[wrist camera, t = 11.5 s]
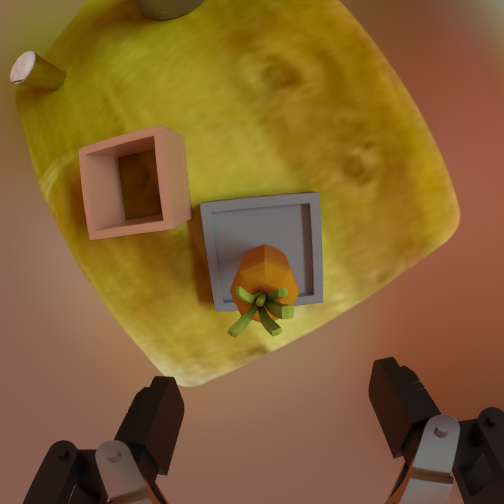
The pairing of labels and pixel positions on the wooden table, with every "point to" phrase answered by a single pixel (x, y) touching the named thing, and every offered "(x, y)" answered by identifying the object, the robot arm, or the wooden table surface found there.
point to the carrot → (263, 289)
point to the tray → (264, 240)
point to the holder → (109, 183)
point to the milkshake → (36, 72)
